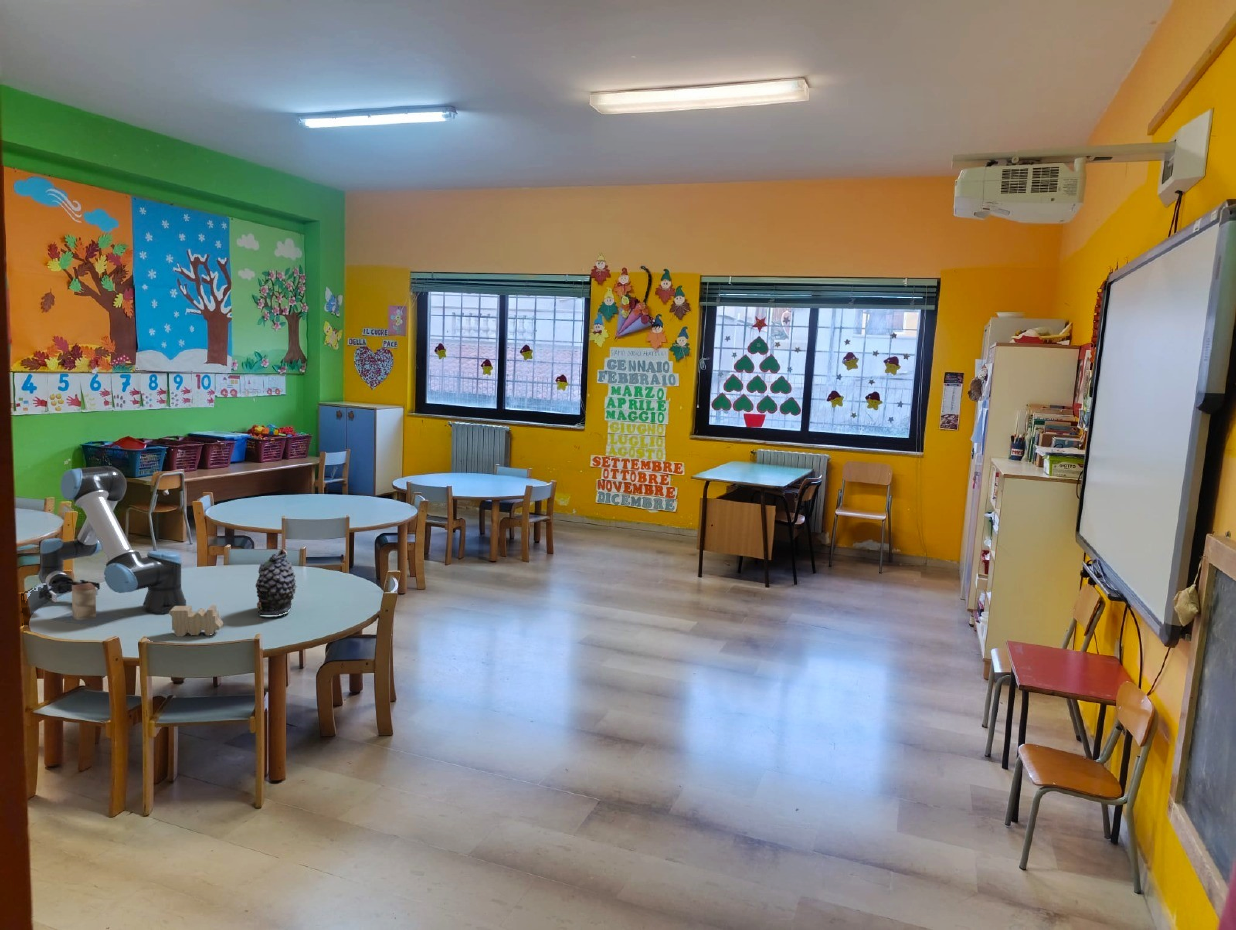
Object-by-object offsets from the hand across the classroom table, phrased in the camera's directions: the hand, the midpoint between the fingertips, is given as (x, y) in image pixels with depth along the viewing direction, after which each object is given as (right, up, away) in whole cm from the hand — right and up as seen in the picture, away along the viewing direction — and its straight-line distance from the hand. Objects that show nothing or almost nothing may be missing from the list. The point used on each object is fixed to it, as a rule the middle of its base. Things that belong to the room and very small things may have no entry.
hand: (76, 595), depth 310 cm
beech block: (+6, -7, -4) cm, 10 cm away
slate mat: (+8, -8, -4) cm, 12 cm away
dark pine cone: (+70, -10, +17) cm, 72 cm away
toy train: (+53, -12, -13) cm, 56 cm away
